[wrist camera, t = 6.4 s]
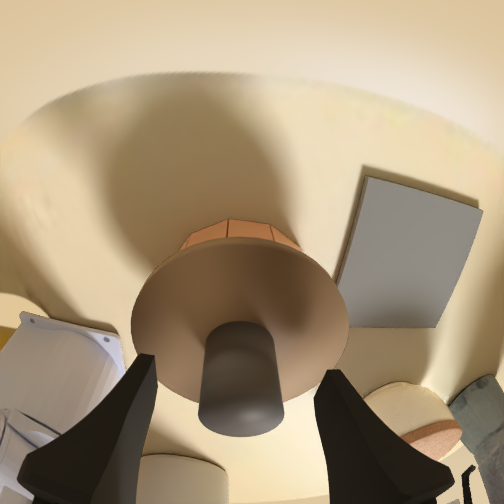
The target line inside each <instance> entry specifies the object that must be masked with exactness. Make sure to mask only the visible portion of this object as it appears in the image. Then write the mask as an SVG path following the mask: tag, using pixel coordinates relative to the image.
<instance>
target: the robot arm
mask: <svg viewBox="0 0 504 504" xmlns="http://www.w3.org/2000/svg"><path fill="white" fill-rule="evenodd" d="M20 319H21V322H22V323H21V324H20V326H19V327H18V328H17V330H16V331H15V332H14V333H13V335H12V336H11V337H10V339H9V340H8V342H7V343H6V344H5V346H4V347H3V348H2V350H1V351H0V504H136V494H137V483H138V474H139V467H140V460H141V454H142V450H143V446H144V442H145V438H146V435H147V431H148V428H149V424H150V421H151V417H152V414H153V410H154V406H155V400H156V394H157V388H158V383H157V374H156V363H155V355H149V354H144V353H140V354H138V356H137V357H136V359H135V360H134V362H133V363H132V365H131V366H130V367H129V369H128V370H127V371H126V369H125V364H124V358H123V352H122V346H121V340H120V337H119V336H118V335H117V334H116V333H112V332H107V331H102V330H97V329H93V328H88V327H84V326H79V325H75V324H71V323H66V322H62V321H58V320H54V319H50V318H47V317H43V316H39V315H36V314H32V313H28V312H25V311H22V312H21V313H20ZM106 337H107V338H106ZM108 338H109V339H108ZM314 408H315V417H316V422H317V426H318V430H319V434H320V438H321V442H322V446H323V451H324V455H325V459H326V464H327V472H328V481H329V495H330V504H437V501H436V497H437V496H439V495H440V494H442V493H443V492H445V491H446V490H448V489H449V488H450V487H452V486H453V485H454V483H455V480H454V478H453V475H452V473H451V470H450V468H449V467H448V466H446V465H444V464H441V463H439V462H437V461H435V460H433V459H431V458H430V457H428V456H426V455H425V454H423V453H421V452H420V451H418V450H417V449H415V448H414V447H412V446H411V445H410V444H408V443H407V442H406V441H404V440H403V439H402V438H400V437H399V436H398V435H397V434H396V433H395V432H393V431H392V430H391V429H390V428H389V427H388V426H387V425H386V424H385V423H384V422H383V421H382V420H381V419H380V418H379V417H378V416H377V415H376V414H375V413H374V412H373V410H372V409H371V408H370V407H369V406H368V405H367V403H366V402H365V401H364V400H363V399H362V397H361V396H360V395H359V394H358V392H357V391H356V390H355V388H354V387H353V386H352V385H351V383H350V382H349V381H348V379H347V378H346V377H345V375H344V374H343V373H342V372H341V370H340V369H327V371H326V373H325V375H324V377H323V379H322V381H321V383H320V386H319V388H318V390H317V392H316V394H315V396H314ZM448 504H460V502H459V499H457V500H454V501H452V502H450V503H448Z"/></svg>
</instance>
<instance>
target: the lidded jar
mask: <svg viewBox="0 0 504 504" xmlns="http://www.w3.org/2000/svg"><path fill="white" fill-rule="evenodd" d="M363 400H364V401H365V402H366V403H367V405H368V406H369V407H370V408H371V409H372V410H373V412H374V413H375V414H376V415H377V416H378V417H379V418H380V419H381V420H382V421H383V422H384V423H385V424H386V425H387V426H388V427H389V428H390V429H391V430H392V431H393V432H395V433H396V434H397V435H398V436H399V437H400V438H402V439H403V440H404V441H406V442H407V443H408V444H410V445H411V446H412V447H414V448H415V449H417V450H418V451H420V452H421V453H423V454H425V455H426V456H428V457H430V458H431V459H433V460H435V461H437V460H439V459H440V458H441V457H443V456H444V455H445V454H446V453H448V452H449V451H450V450H451V449H452V448H453V447H454V446H455V445H456V443H457V442H458V441H459V439H460V438H461V435H462V428H461V427H460V425H459V423H458V422H457V421H456V420H455V418H454V416H453V414H452V413H451V411H450V409H449V408H448V406H447V405H446V404H445V402H444V401H443V400H442V399H441V398H440V397H439V396H438V395H437V394H436V393H434V392H433V391H431V390H430V389H428V388H426V387H423V386H420V385H414V384H409V383H407V382H394V383H390V384H387V385H385V386H382V387H380V388H378V389H376V390H375V391H373V392H371V393H370V394H369V395H367V396H366V397H365V398H364V399H363Z"/></svg>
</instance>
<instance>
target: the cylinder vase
mask: <svg viewBox="0 0 504 504" xmlns="http://www.w3.org/2000/svg"><path fill="white" fill-rule="evenodd" d="M136 504H229V478H228V475H227V474H226V472H225V471H223V470H222V469H221V468H219V467H217V466H216V465H213V464H211V463H208V462H206V461H202V460H199V459H195V458H190V457H185V456H178V455H168V454H154V455H147V456H143V457H141V460H140V467H139V474H138V483H137V494H136Z"/></svg>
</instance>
